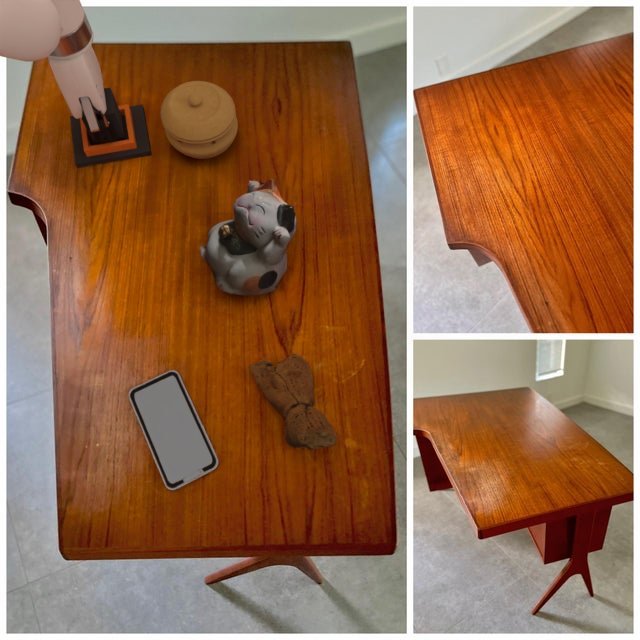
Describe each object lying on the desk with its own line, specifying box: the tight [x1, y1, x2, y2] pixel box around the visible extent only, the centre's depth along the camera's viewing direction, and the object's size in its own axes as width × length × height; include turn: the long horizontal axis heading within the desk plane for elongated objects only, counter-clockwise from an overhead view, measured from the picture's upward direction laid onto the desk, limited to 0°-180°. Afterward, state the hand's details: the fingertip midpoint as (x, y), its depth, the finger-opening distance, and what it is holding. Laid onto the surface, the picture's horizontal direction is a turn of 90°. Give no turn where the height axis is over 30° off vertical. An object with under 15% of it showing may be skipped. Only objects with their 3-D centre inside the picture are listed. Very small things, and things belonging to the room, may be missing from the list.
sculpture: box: [248, 353, 338, 451], centre depth 69 cm, size 8×10×15 cm
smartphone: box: [128, 369, 220, 491], centre depth 71 cm, size 7×1×15 cm
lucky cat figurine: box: [199, 178, 297, 296], centre depth 76 cm, size 15×12×14 cm
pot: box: [160, 80, 239, 160], centre depth 85 cm, size 12×12×10 cm
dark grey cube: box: [81, 87, 125, 143], centre depth 84 cm, size 5×5×6 cm
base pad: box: [69, 104, 153, 169], centre depth 88 cm, size 12×10×2 cm
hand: (106, 126), depth 86 cm, fingers closed on dark grey cube, 5 cm apart
